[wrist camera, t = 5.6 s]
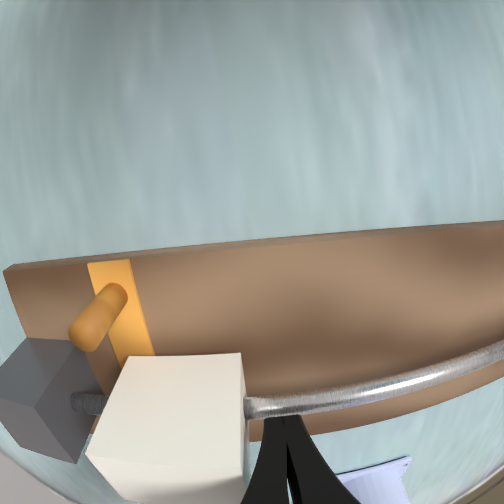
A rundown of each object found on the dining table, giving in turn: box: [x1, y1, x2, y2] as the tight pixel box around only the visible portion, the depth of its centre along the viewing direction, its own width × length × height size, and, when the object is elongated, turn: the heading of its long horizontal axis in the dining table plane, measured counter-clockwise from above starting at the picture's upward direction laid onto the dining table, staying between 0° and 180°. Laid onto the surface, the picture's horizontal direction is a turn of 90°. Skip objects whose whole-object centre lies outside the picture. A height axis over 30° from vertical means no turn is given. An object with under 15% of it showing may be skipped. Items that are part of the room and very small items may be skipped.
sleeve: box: [85, 353, 251, 504], centre depth 10 cm, size 4×5×6 cm
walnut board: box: [3, 220, 504, 442], centre depth 12 cm, size 12×34×4 cm, turn 95°
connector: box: [0, 337, 105, 464], centre depth 11 cm, size 4×4×5 cm
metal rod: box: [70, 340, 504, 420], centre depth 12 cm, size 3×29×4 cm, turn 95°
